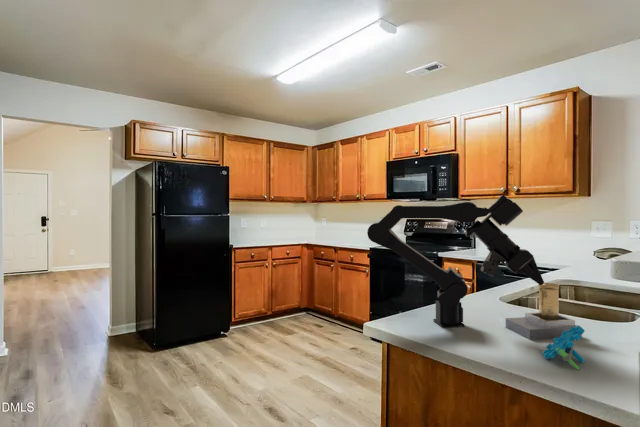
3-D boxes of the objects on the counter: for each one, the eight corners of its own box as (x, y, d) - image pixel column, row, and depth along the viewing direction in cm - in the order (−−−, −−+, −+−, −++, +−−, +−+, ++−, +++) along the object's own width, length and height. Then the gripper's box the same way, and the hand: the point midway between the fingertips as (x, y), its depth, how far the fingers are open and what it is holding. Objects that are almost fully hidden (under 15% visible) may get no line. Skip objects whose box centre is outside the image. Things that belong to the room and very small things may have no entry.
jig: (529, 339, 93) (529, 323, 93) (505, 327, 103) (505, 312, 103) (581, 337, 95) (581, 321, 95) (553, 325, 105) (553, 310, 105)
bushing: (549, 335, 96) (549, 286, 96) (534, 330, 101) (534, 283, 101) (563, 333, 98) (563, 285, 98) (547, 328, 102) (547, 282, 102)
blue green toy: (543, 340, 88) (580, 316, 83) (565, 362, 86) (604, 339, 80) (535, 362, 79) (576, 337, 74) (559, 386, 77) (602, 362, 72)
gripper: (467, 254, 114) (507, 293, 111) (473, 261, 96) (521, 309, 93) (496, 228, 111) (538, 268, 108) (508, 231, 94) (558, 279, 90)
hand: (537, 280), depth 100 cm, fingers open, 9 cm apart
